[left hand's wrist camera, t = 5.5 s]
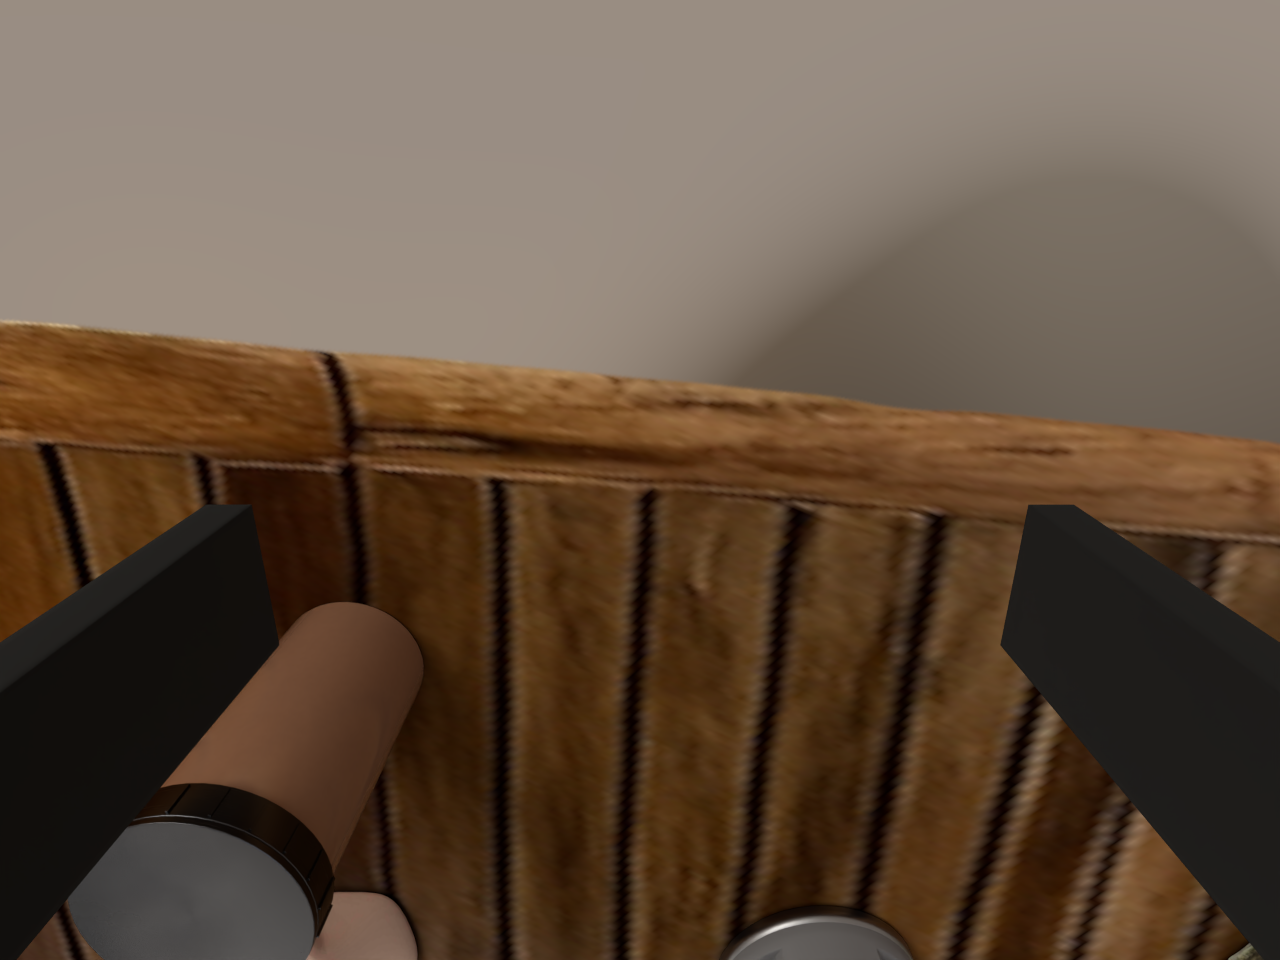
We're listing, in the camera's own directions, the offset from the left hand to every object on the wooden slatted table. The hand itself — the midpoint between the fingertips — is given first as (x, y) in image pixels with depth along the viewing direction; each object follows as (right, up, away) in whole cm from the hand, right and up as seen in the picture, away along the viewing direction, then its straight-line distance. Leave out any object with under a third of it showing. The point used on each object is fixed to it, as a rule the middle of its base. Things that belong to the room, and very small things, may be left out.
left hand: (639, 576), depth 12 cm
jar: (-18, -10, +34) cm, 39 cm away
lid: (-18, -16, +17) cm, 30 cm away
